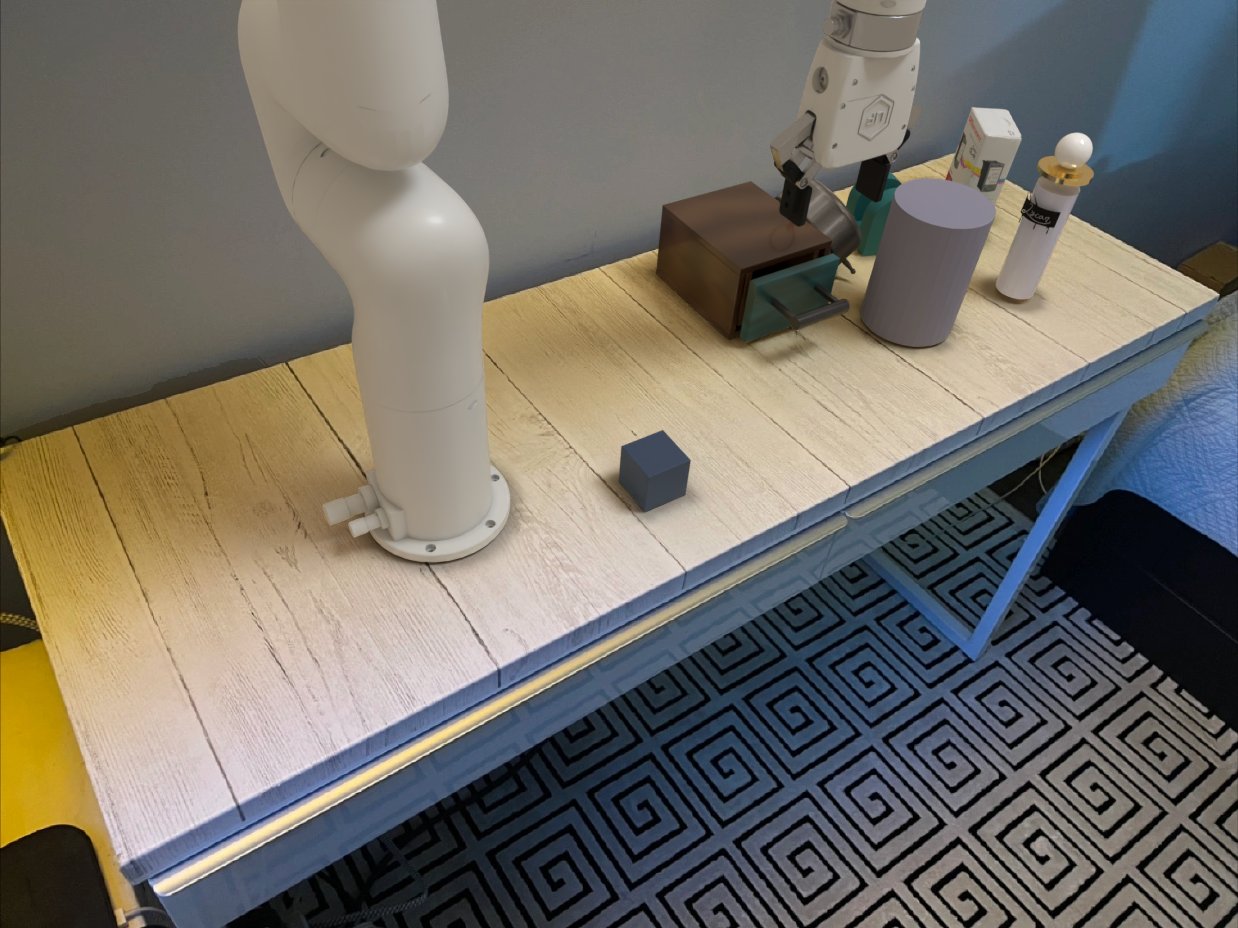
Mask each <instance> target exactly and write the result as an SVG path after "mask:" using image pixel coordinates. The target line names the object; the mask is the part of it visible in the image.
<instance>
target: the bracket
mask: <svg viewBox="0 0 1238 928" xmlns="http://www.w3.org/2000/svg"><path fill="white" fill-rule="evenodd" d="M901 184H903V183H902V182H901V181H900V180H899V179H898V178H897V177H896V175H894V173H892V172H891V171H889V175H888V178H887V182H886V186H885V189H884V193H883V196H882V200H881V201H879V202H876V203H875V202H873V201H872V200H870V199H869V198H867V197H866V196H864V195H863V194H861V193H860V192H858V191H857V190H856V189H855V186H856V182H855V183H854V184H853V186H852V187H851V189H850V191H849V193H848V196H847V200H846V204H845V206H846V207H847V208H848V210H849V211H850V212H851V214H852V215H853V216H855V220H856V222H857V224H858V226H859V229H860V232H861V243H860V245H859V247H858V248H857V249H856V250H857V252H859V254H860V255H861V256H862V257H869V256H876V255H877V252H878V248H879V245H880V241H881V238H882V235H883V231H884V228H885V224H886V221H887V217H888V214H889V211H890V207H891V204H892V200H893V197H894V193H895V191H896V189H897V188H898V187H899V186H900V185H901Z"/></svg>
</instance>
